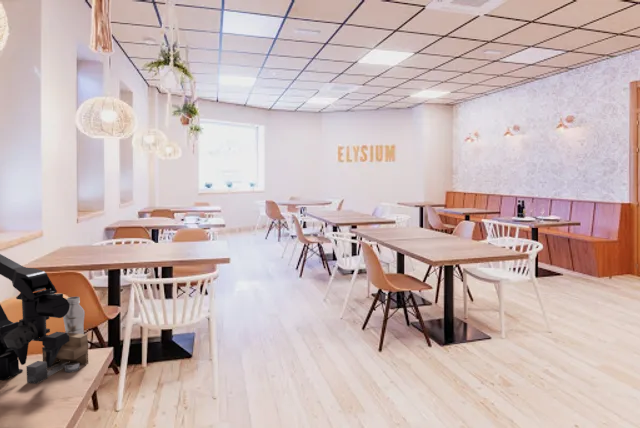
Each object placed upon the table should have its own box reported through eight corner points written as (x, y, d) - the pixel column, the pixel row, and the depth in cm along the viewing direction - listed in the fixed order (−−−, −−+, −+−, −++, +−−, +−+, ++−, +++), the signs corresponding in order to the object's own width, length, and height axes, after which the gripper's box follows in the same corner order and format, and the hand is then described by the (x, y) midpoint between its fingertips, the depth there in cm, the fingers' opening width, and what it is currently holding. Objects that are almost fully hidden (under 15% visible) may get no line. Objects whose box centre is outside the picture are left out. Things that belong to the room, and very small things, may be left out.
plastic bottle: (80, 359, 144) (77, 300, 142) (59, 359, 144) (57, 300, 142) (90, 352, 150) (88, 295, 149) (71, 352, 150) (69, 295, 149)
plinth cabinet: (43, 367, 138) (41, 338, 137) (58, 359, 144) (56, 331, 143) (74, 370, 136) (73, 341, 135) (88, 362, 141) (87, 334, 141)
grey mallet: (27, 382, 127) (26, 366, 127) (60, 365, 139) (59, 350, 139) (36, 384, 127) (35, 367, 126) (69, 366, 139) (68, 351, 138)
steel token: (61, 372, 135) (61, 366, 135) (71, 366, 139) (71, 360, 139) (72, 373, 134) (72, 367, 134) (82, 368, 138) (82, 362, 138)
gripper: (-19, 320, 121) (-16, 374, 123) (38, 325, 118) (40, 381, 119) (16, 309, 132) (19, 358, 133) (69, 313, 129) (71, 364, 130)
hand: (36, 365), depth 129 cm, fingers open, 9 cm apart
